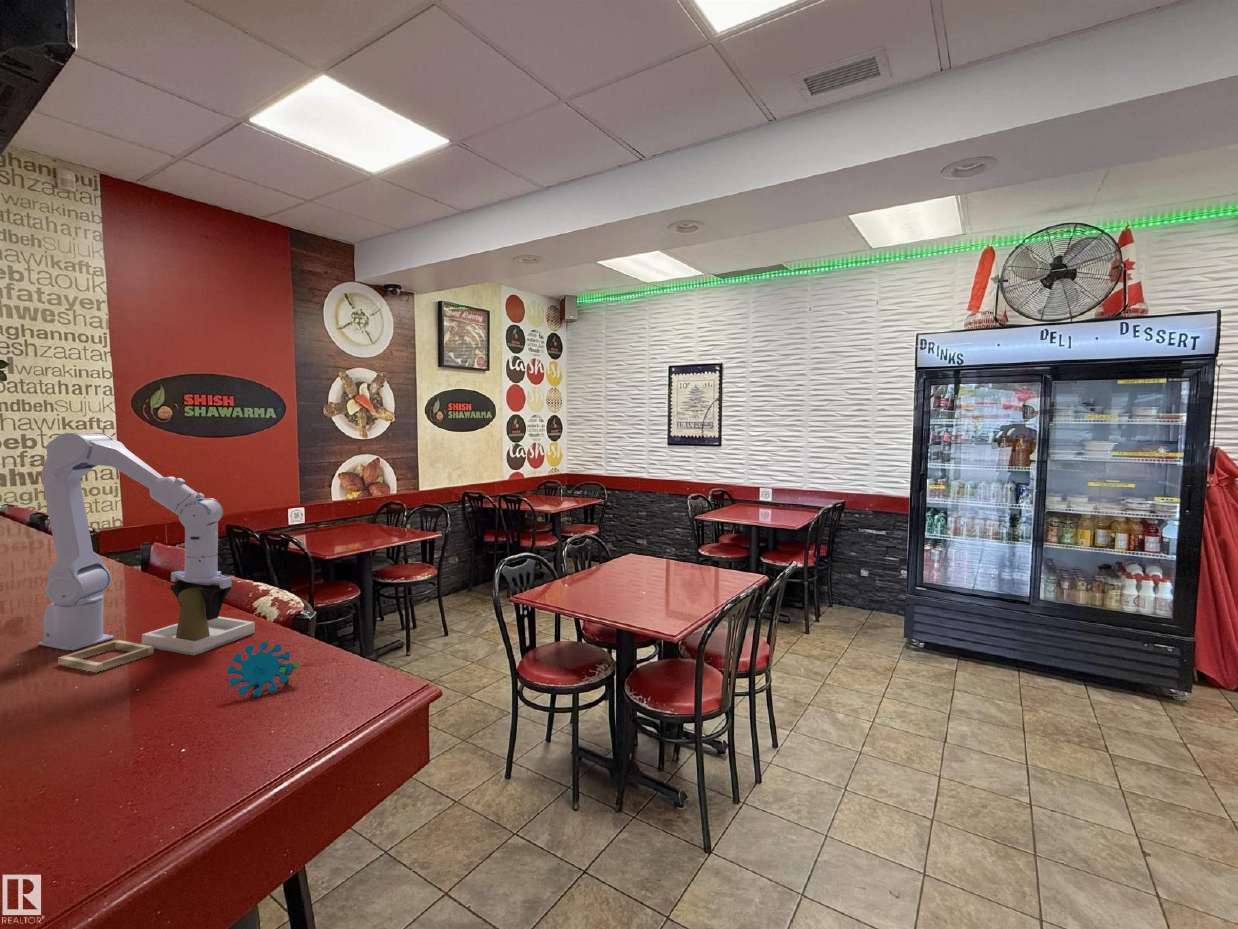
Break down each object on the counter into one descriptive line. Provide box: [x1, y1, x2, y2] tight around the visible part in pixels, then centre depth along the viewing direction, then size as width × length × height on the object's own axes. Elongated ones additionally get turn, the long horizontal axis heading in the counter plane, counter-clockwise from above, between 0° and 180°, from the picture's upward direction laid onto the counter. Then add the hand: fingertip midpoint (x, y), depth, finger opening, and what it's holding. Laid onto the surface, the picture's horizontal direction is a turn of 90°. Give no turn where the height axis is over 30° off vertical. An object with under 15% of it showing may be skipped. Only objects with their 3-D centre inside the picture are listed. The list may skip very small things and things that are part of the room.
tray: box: [141, 616, 256, 657], centre depth 121 cm, size 14×14×2 cm
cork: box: [176, 587, 210, 641], centre depth 120 cm, size 6×6×11 cm
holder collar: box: [57, 639, 155, 674], centre depth 109 cm, size 10×10×2 cm
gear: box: [226, 641, 301, 698], centre depth 102 cm, size 11×6×10 cm
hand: (200, 616), depth 121 cm, fingers open, 6 cm apart
